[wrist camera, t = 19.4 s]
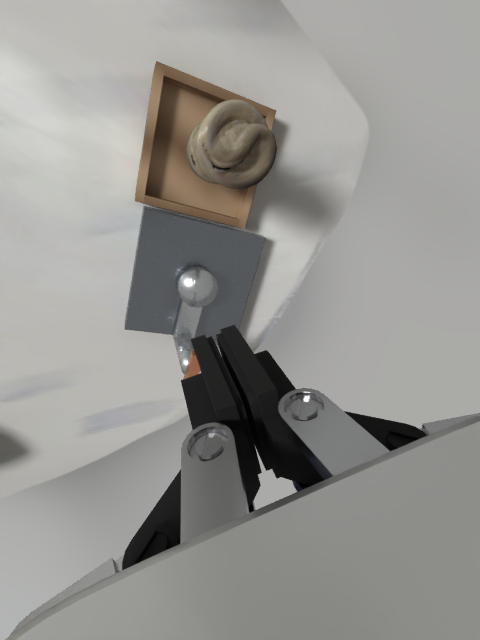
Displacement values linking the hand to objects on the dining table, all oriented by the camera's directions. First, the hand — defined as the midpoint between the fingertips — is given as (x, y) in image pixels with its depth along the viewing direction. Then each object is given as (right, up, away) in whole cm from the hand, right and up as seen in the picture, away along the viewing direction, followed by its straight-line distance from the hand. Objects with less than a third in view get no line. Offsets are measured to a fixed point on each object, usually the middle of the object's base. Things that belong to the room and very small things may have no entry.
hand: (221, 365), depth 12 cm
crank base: (-5, +7, +29) cm, 30 cm away
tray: (-3, +19, +23) cm, 30 cm away
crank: (-5, +3, +28) cm, 29 cm away
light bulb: (-3, +19, +23) cm, 30 cm away
